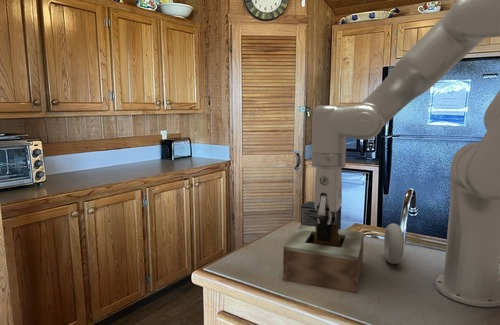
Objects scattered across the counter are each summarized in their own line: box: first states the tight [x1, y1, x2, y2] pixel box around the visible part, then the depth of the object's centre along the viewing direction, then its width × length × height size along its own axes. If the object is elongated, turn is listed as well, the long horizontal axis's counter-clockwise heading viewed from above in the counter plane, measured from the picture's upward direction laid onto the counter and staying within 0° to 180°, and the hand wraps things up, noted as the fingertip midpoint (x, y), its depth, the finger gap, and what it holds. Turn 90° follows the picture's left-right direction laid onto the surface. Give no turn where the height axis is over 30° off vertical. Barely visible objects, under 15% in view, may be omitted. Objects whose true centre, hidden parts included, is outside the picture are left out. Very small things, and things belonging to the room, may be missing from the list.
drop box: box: [282, 224, 365, 294], centre depth 85 cm, size 16×16×8 cm
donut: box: [383, 223, 405, 265], centre depth 90 cm, size 10×4×10 cm, turn 168°
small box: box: [300, 201, 342, 230], centre depth 106 cm, size 11×6×10 cm, turn 58°
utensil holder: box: [314, 211, 340, 247], centre depth 84 cm, size 6×6×12 cm
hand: (326, 235), depth 84 cm, fingers closed on utensil holder, 5 cm apart
